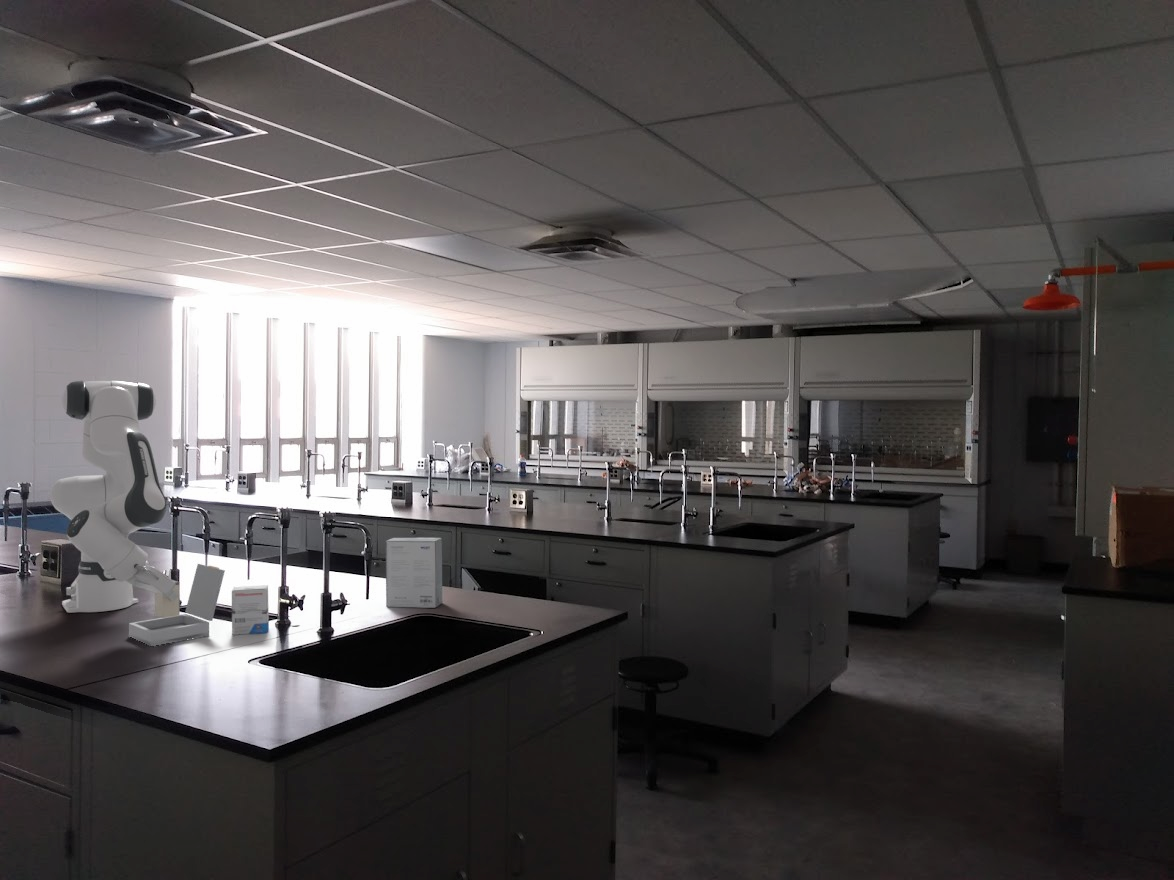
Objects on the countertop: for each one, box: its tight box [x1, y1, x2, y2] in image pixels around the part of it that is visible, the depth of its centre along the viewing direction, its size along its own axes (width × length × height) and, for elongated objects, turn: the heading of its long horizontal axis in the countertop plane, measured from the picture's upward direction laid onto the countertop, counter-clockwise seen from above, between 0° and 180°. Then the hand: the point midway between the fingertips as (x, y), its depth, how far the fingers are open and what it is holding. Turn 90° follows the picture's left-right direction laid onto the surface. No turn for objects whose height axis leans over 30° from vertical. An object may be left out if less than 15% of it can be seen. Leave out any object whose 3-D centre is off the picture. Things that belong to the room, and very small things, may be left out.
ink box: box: [231, 584, 270, 636], centre depth 214 cm, size 9×5×12 cm, turn 106°
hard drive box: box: [385, 537, 443, 609], centre depth 247 cm, size 16×8×20 cm, turn 84°
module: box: [154, 579, 180, 618], centre depth 209 cm, size 5×4×8 cm
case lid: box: [184, 563, 226, 622], centre depth 216 cm, size 14×13×2 cm
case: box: [128, 613, 210, 647], centre depth 209 cm, size 14×14×4 cm
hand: (169, 596), depth 209 cm, fingers closed on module, 5 cm apart
